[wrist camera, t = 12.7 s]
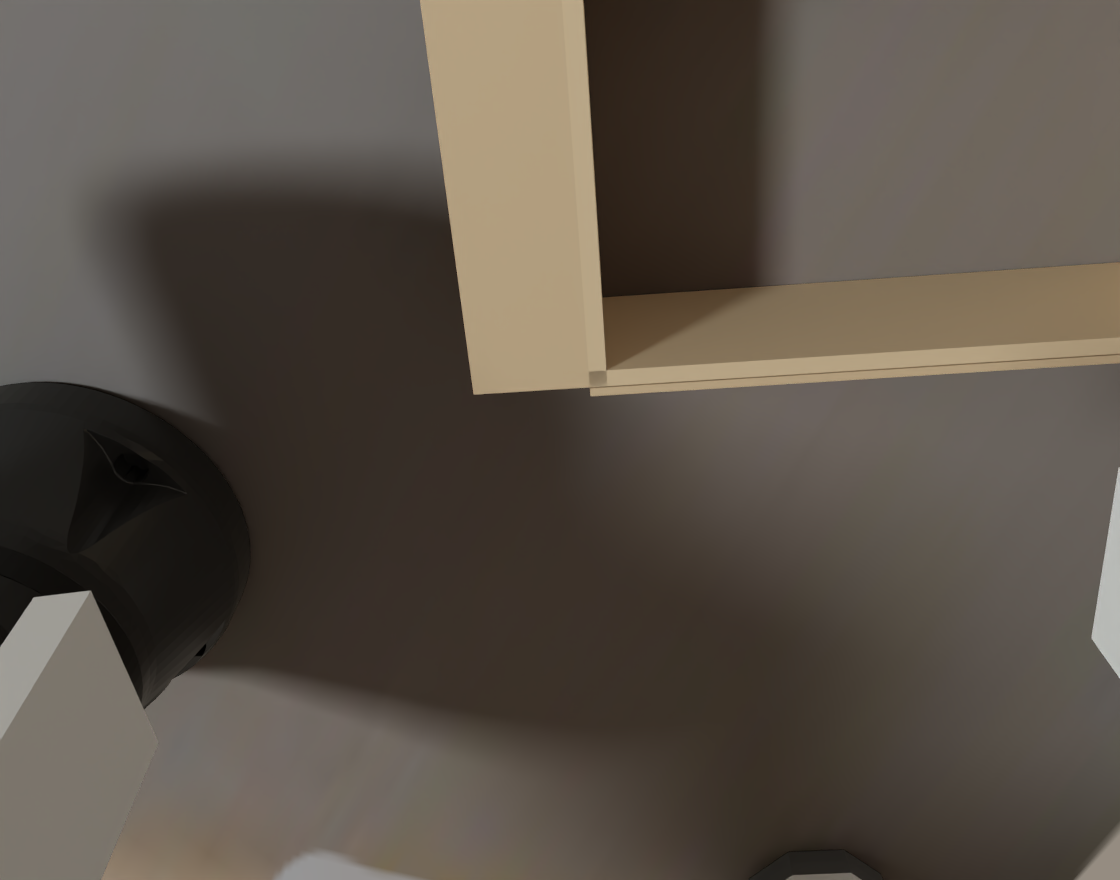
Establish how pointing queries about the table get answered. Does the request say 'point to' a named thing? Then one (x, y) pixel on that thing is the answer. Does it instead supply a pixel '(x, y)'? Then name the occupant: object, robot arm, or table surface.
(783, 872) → the wine bottle
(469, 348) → the tan shallow open box
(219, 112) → the table surface
